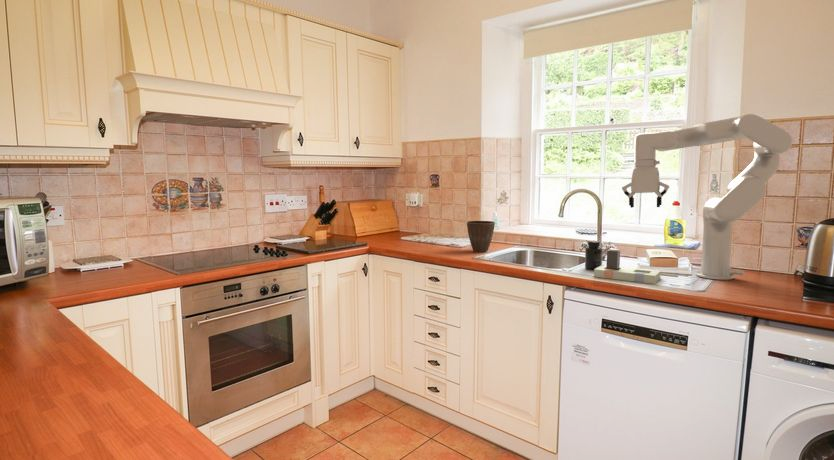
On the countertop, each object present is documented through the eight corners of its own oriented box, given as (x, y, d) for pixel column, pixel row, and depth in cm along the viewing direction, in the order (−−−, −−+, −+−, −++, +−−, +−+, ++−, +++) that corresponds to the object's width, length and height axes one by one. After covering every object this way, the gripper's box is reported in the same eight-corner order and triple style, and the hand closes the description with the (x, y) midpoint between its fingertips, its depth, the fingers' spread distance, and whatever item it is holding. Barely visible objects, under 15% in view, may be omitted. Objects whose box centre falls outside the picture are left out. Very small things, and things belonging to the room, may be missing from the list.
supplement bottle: (601, 267, 207) (602, 240, 206) (601, 270, 201) (603, 242, 199) (584, 267, 209) (585, 240, 208) (584, 269, 203) (585, 242, 202)
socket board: (660, 278, 185) (660, 270, 185) (654, 283, 175) (655, 275, 175) (602, 271, 198) (602, 264, 198) (593, 276, 188) (593, 268, 188)
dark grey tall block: (619, 274, 190) (620, 248, 189) (616, 276, 187) (617, 249, 186) (608, 273, 193) (609, 247, 192) (606, 275, 190) (607, 249, 188)
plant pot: (496, 253, 246) (496, 223, 244) (467, 253, 246) (467, 223, 245) (492, 249, 261) (492, 220, 259) (465, 249, 261) (465, 220, 260)
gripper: (670, 163, 188) (670, 206, 190) (623, 165, 198) (624, 206, 199) (668, 163, 182) (668, 207, 183) (620, 165, 191) (620, 208, 193)
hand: (645, 207), depth 191 cm, fingers open, 9 cm apart
